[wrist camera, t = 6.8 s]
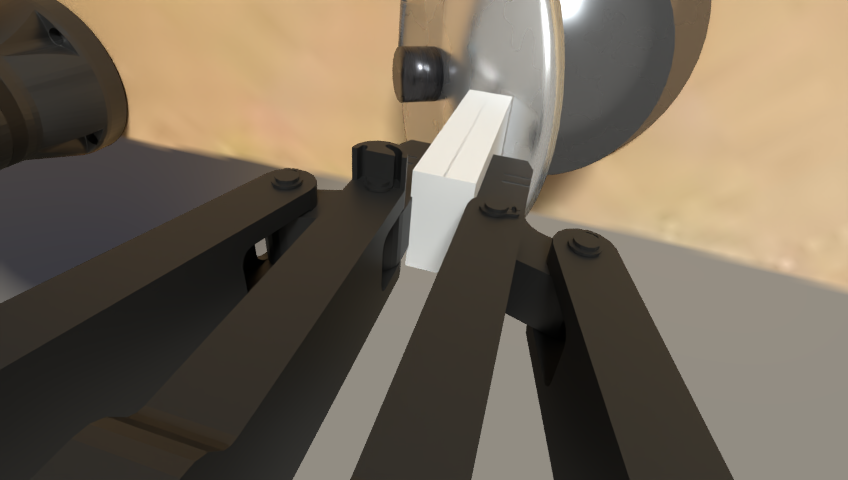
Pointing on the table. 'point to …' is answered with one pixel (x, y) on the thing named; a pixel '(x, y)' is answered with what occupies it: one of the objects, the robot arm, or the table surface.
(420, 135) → the lid
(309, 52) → the table surface
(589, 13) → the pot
